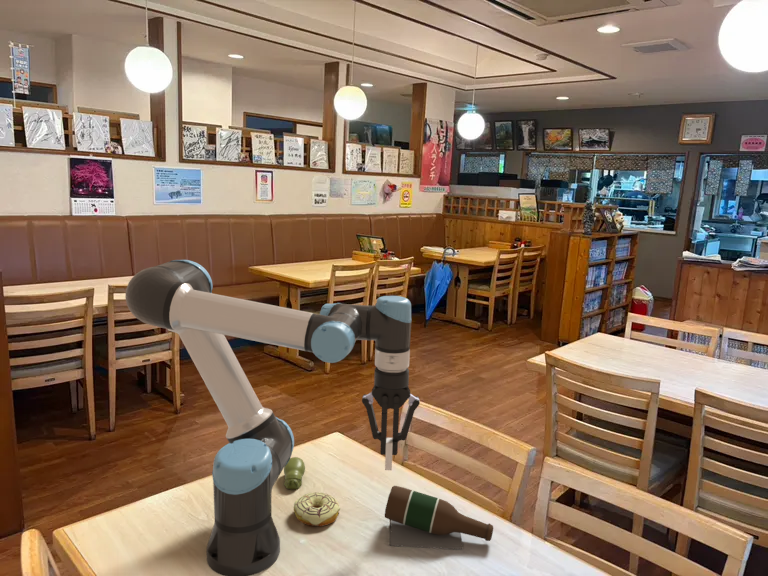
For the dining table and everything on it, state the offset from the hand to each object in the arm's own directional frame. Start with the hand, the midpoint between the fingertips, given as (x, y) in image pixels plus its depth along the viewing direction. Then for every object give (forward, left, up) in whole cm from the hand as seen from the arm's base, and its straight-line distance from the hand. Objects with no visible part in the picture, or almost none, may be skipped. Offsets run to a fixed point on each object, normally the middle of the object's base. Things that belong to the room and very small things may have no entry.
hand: (388, 467), depth 126 cm
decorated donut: (-17, +4, -16) cm, 23 cm away
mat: (+9, 0, -16) cm, 18 cm away
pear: (-25, +19, -16) cm, 35 cm away
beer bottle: (0, +2, -9) cm, 9 cm away
